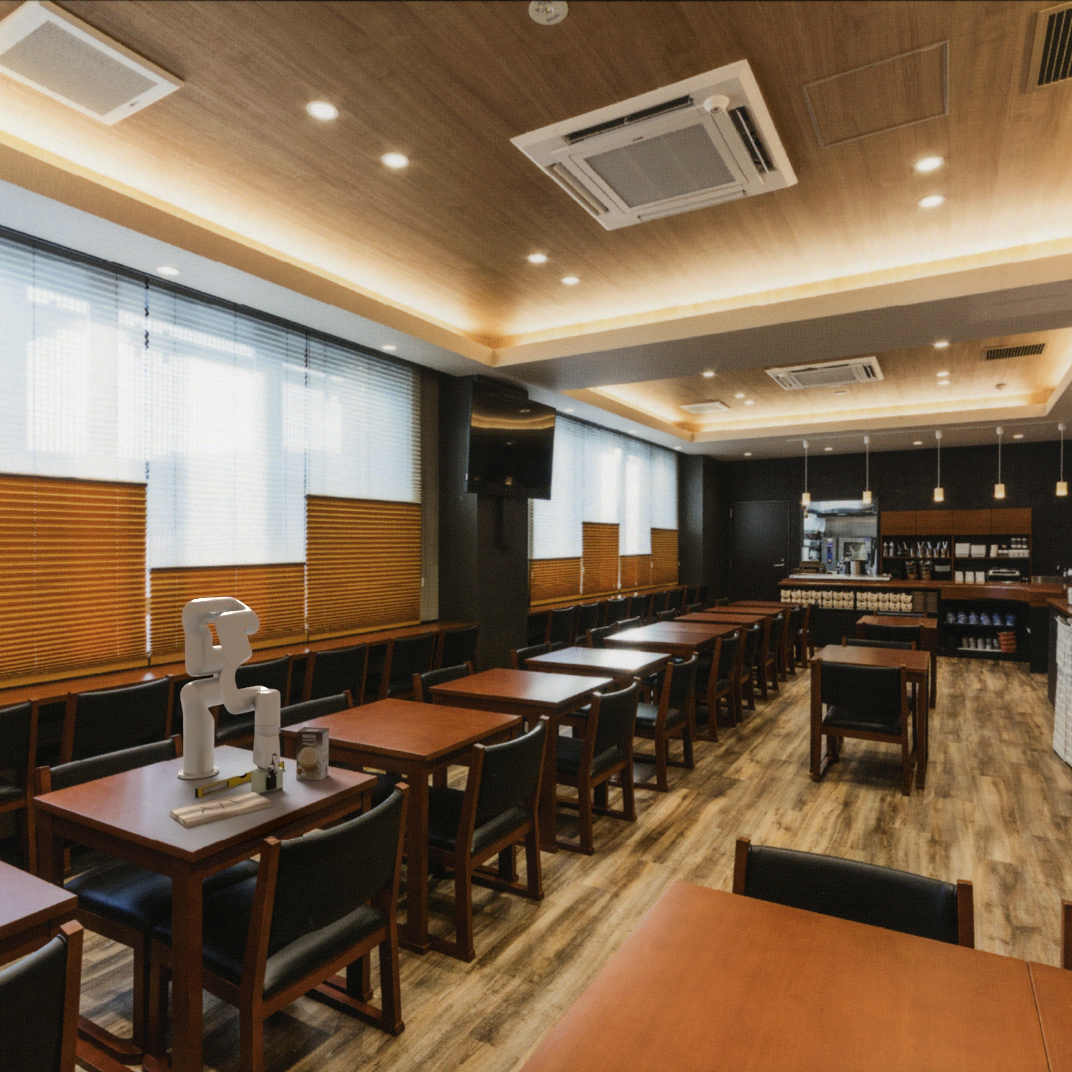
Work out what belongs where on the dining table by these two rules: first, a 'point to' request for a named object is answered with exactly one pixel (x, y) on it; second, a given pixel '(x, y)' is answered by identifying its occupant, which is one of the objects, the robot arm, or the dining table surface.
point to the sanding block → (260, 781)
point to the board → (220, 808)
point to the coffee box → (312, 753)
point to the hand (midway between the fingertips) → (267, 786)
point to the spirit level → (225, 783)
